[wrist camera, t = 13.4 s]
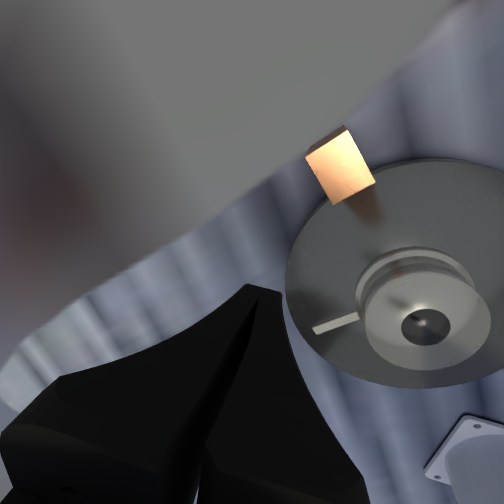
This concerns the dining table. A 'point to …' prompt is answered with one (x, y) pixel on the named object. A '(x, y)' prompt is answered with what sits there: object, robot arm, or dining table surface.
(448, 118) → the dining table surface
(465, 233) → the turntable
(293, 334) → the dining table surface
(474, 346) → the cover
